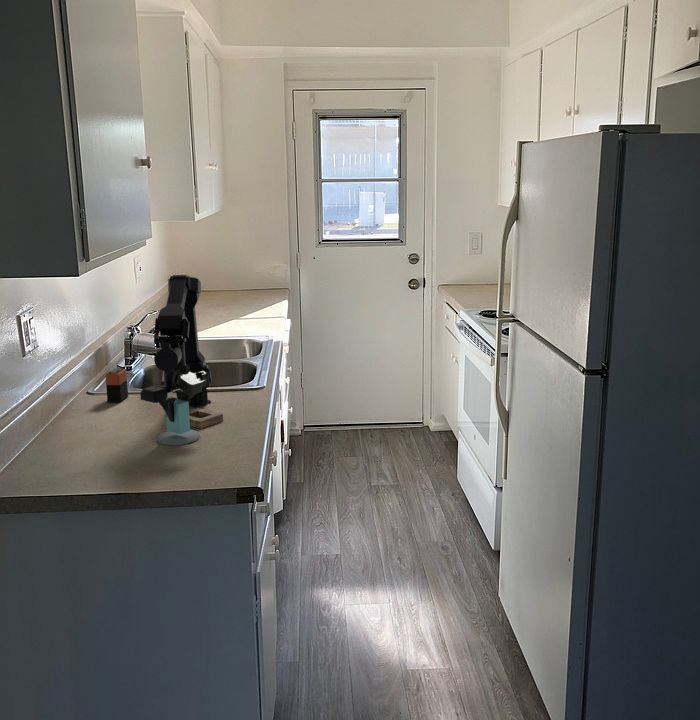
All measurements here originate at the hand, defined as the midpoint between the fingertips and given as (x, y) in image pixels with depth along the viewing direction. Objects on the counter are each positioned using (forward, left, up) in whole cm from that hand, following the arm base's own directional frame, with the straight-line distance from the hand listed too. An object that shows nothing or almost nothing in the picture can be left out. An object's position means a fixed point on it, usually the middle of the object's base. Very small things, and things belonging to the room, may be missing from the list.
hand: (177, 419), depth 197 cm
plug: (0, 0, -3) cm, 3 cm away
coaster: (0, 0, -5) cm, 5 cm away
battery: (-43, +14, -5) cm, 46 cm away
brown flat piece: (-6, +13, -5) cm, 15 cm away
